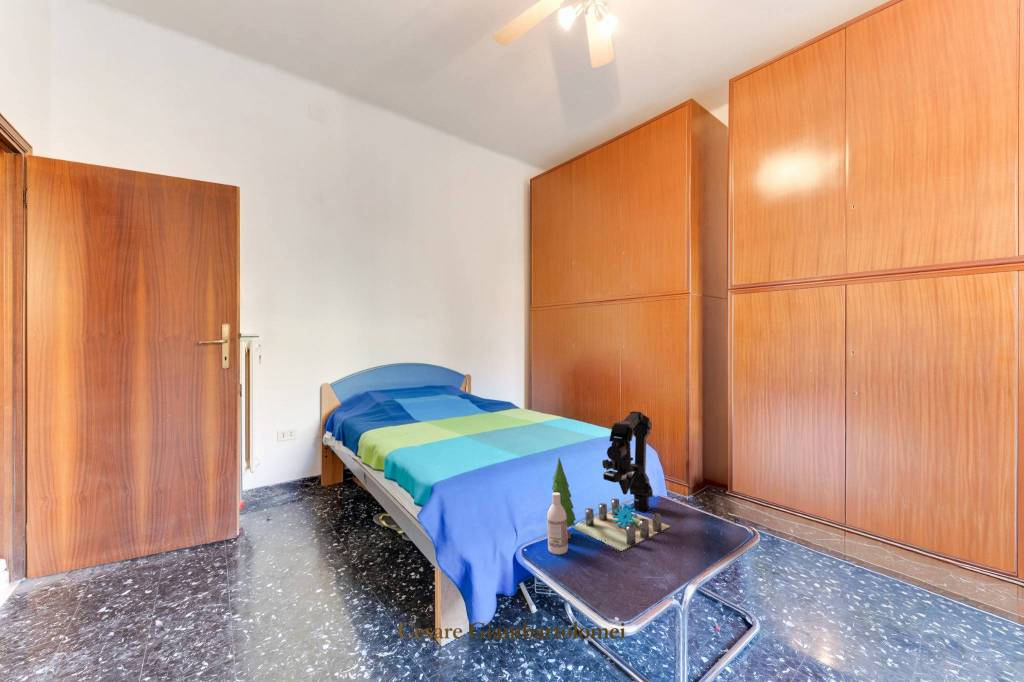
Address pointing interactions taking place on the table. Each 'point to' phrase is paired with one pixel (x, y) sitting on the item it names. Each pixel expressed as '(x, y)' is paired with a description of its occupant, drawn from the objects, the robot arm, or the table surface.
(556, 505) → the bath foam
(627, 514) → the gear
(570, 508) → the decorative tree
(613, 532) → the board
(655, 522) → the spacer posts
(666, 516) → the table surface
